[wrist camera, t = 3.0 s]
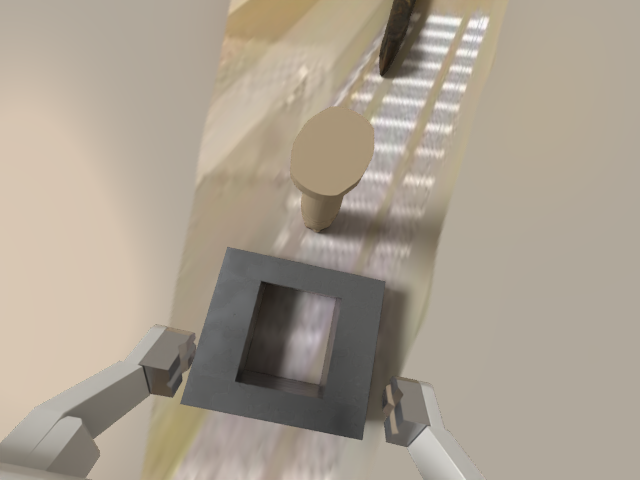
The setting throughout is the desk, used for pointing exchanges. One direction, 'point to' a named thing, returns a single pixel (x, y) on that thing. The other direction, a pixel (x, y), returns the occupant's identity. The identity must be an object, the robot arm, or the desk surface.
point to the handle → (330, 162)
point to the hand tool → (395, 32)
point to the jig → (275, 392)
